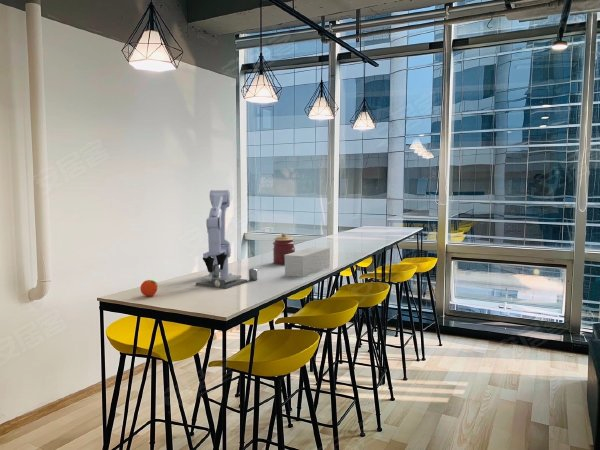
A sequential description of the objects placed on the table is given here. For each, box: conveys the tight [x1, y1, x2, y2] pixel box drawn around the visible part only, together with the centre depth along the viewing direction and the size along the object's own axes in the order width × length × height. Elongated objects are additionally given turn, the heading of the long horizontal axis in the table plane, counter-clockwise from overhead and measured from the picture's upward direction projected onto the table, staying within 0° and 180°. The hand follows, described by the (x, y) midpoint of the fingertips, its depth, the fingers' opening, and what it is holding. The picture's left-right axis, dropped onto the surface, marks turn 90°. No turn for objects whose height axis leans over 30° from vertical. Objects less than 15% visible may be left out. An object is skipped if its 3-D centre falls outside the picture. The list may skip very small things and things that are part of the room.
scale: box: [195, 278, 248, 290], centre depth 225 cm, size 18×16×4 cm
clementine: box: [139, 279, 159, 297], centre depth 202 cm, size 8×7×7 cm
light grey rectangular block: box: [284, 246, 331, 278], centre depth 254 cm, size 32×11×11 cm, turn 152°
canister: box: [272, 232, 296, 265], centre depth 280 cm, size 13×13×18 cm
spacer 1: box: [212, 264, 220, 277], centre depth 226 cm, size 4×4×6 cm
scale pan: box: [201, 274, 242, 283], centre depth 225 cm, size 14×12×2 cm
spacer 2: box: [248, 267, 258, 282], centre depth 232 cm, size 4×4×6 cm
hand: (215, 270), depth 226 cm, fingers open, 7 cm apart
